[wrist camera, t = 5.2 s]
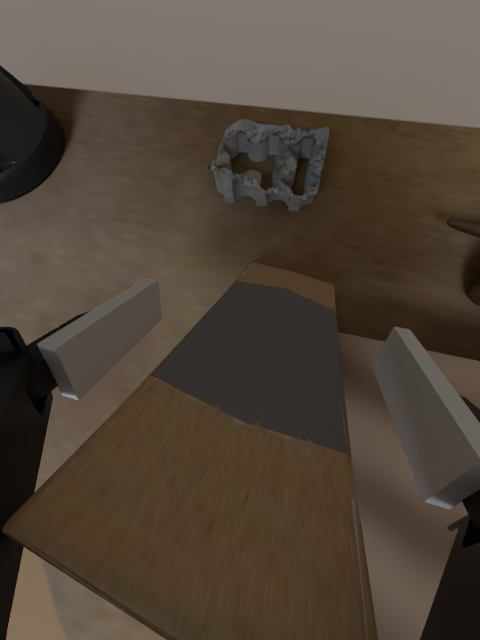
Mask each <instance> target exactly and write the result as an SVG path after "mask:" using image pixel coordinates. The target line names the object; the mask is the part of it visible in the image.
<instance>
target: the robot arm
mask: <svg viewBox="0 0 480 640" xmlns="http://www.w3.org/2000/svg"><path fill="white" fill-rule="evenodd" d="M63 142H64V134H63V130H62V127H61V124H60V123H59V121H58V120H57V118H56V117H55V116H54V115H53V113H52V112H51V111H50V110H49V109H48V107H47V106H46V105H45V104H44V102H43V101H42V100H41V99H40V98H39V97H38V96H37V95H35V94H34V93H33V92H32V91H30V90H29V89H28V88H27V87H26V86H25V85H23V84H22V83H21V82H20V81H18V80H17V79H16V78H14V76H12V75H11V74H10V73H9V72H7V71H6V70H5V69H4V68H3V67H2V66H0V203H2V202H6V201H9V200H12V199H15V198H17V197H19V196H21V195H23V194H25V193H27V192H28V191H30V190H31V189H33V188H34V187H35V186H37V185H38V184H39V183H40V182H41V181H42V180H43V179H44V178H45V177H46V176H47V175H48V174H49V173H50V172H51V170H52V169H53V168H54V166H55V165H56V163H57V161H58V159H59V157H60V155H61V152H62V148H63ZM161 319H162V314H161V304H160V295H159V285H158V280H157V279H152V278H147V277H146V278H144V279H143V280H141V281H139V282H138V283H136V284H134V285H133V286H131V287H129V288H128V289H126V290H125V291H123V292H121V293H120V294H118V295H116V296H115V297H113V298H111V299H110V300H108V301H106V302H105V303H103V304H102V305H100V306H98V307H97V308H95V309H93V310H92V311H90V312H86V313H84V314H81V315H78V316H76V317H74V318H72V319H71V320H69V321H67V323H64V324H62V325H61V326H59V328H56V329H54V330H52V331H50V332H49V333H47V334H45V335H44V336H42V337H40V338H39V339H37V340H35V341H34V342H32V343H30V344H29V345H27V346H26V344H25V342H24V341H23V339H22V337H21V335H20V333H19V331H18V330H17V329H15V328H12V327H0V640H6V635H7V628H8V622H9V617H10V613H11V608H12V603H13V597H14V592H15V587H16V582H17V577H18V572H19V567H20V562H21V557H22V552H23V547H24V546H22V545H20V544H19V543H17V542H16V541H14V540H13V539H11V538H10V537H8V536H7V535H5V534H4V533H2V530H3V527H4V525H5V523H6V522H7V521H8V520H9V518H10V517H11V516H12V515H13V514H14V513H15V512H16V511H17V510H18V509H19V508H20V507H21V506H22V505H23V504H24V503H25V502H26V501H27V500H28V499H29V498H30V497H31V496H32V495H33V494H34V491H35V486H36V481H37V476H38V471H39V466H40V461H41V456H42V451H43V445H44V440H45V435H46V430H47V425H48V420H49V415H50V410H51V405H52V400H53V396H52V393H51V391H52V390H53V389H54V388H56V387H57V386H58V387H59V389H60V391H61V393H62V395H63V396H66V397H69V398H73V399H76V400H79V399H80V398H81V397H82V396H83V395H84V394H86V393H87V392H88V391H89V390H90V389H91V388H92V387H93V386H94V385H95V384H96V383H97V382H98V381H99V380H100V379H101V378H102V377H103V376H104V375H105V374H106V373H107V372H108V371H109V370H110V369H111V368H112V367H113V366H114V365H115V364H116V363H117V362H118V361H119V360H120V359H121V358H122V357H123V356H124V355H125V354H126V353H127V352H129V351H130V350H131V349H132V348H133V347H134V346H135V345H136V344H137V343H138V342H139V341H140V340H141V339H142V338H143V337H144V336H145V335H146V334H147V333H148V332H149V331H150V330H151V329H152V328H153V327H154V326H155V325H156V324H157V323H158V322H159V321H160V320H161ZM371 366H372V368H373V371H374V374H375V376H376V379H377V381H378V384H379V387H380V389H381V392H382V394H383V397H384V400H385V402H386V405H387V407H388V410H389V412H390V415H391V418H392V420H393V423H394V425H395V428H396V431H397V433H398V436H399V438H400V441H401V444H402V446H403V449H404V451H405V454H406V456H407V459H408V462H409V464H410V467H411V469H412V472H413V475H414V477H415V480H416V482H417V485H418V488H419V490H420V493H421V495H422V498H423V500H424V502H426V503H429V504H433V505H436V506H440V507H443V508H446V509H451V508H453V507H454V506H456V505H457V504H459V503H461V502H462V503H463V505H464V507H465V509H466V511H467V513H468V515H466V516H464V517H463V518H461V519H459V520H457V521H455V522H454V523H452V524H450V525H449V526H448V527H447V529H448V530H449V531H450V532H451V531H453V530H455V529H458V531H457V534H456V537H455V540H454V543H453V546H452V549H451V551H450V554H449V557H448V560H447V563H446V566H445V569H444V571H443V574H442V577H441V580H440V583H439V586H438V589H437V592H436V594H435V597H434V600H433V603H432V606H431V609H430V612H429V615H428V617H427V620H426V623H425V626H424V629H423V632H422V635H421V638H420V640H480V409H479V408H477V407H476V406H475V405H474V404H473V403H471V402H470V401H469V400H468V399H467V398H466V397H463V396H459V394H458V393H457V392H456V390H455V389H454V388H453V386H452V385H451V384H450V382H449V381H448V380H447V378H446V377H445V376H444V374H443V373H442V372H441V370H440V369H439V368H438V366H437V365H436V364H435V362H434V361H433V360H432V358H431V357H430V356H429V354H428V353H427V352H426V350H425V349H424V347H423V346H422V345H421V343H420V342H419V341H418V339H417V338H416V337H415V335H414V334H413V333H412V331H411V330H410V329H405V328H400V327H395V326H394V327H393V329H392V331H391V332H390V334H389V336H388V338H387V339H386V341H385V343H384V345H383V346H382V348H381V350H380V351H379V353H378V355H377V357H376V358H375V360H374V362H373V364H372V365H371Z"/></svg>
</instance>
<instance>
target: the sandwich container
mask: <svg viewBox="0 0 480 640" xmlns="http://www.w3.org/2000/svg"><path fill="white" fill-rule="evenodd" d="M2 533H4V534H5V535H7V536H8V537H10V538H11V539H13V540H14V541H16V542H17V543H19V544H20V545H22V546H24V547H25V548H27V549H28V550H30V551H31V552H33V553H34V554H36V555H37V556H39V557H41V558H42V559H44V560H45V561H47V562H48V563H50V564H51V565H53V566H54V567H56V568H57V569H59V570H61V571H62V572H64V573H65V574H67V575H68V576H70V577H71V578H73V579H74V580H76V581H77V582H79V583H81V584H82V585H84V586H85V587H87V588H88V589H90V590H91V591H93V592H94V593H96V594H97V595H99V596H101V597H102V598H104V599H105V600H107V601H108V602H110V603H111V604H113V605H114V606H116V607H117V608H119V609H121V610H122V611H124V612H125V613H127V614H128V615H130V616H131V617H133V618H134V619H136V620H137V621H139V622H141V623H142V624H144V625H145V626H147V627H148V628H150V629H151V630H153V631H154V632H156V633H157V634H159V635H160V636H162V637H164V638H165V639H167V640H378V634H377V627H376V620H375V614H374V607H373V600H372V593H371V586H370V580H369V573H368V566H367V559H366V552H365V546H364V539H363V532H362V525H361V518H360V512H359V505H358V498H357V491H356V484H355V478H354V471H353V464H352V457H351V449H350V440H349V431H348V422H347V413H346V404H345V394H344V384H343V374H342V364H341V355H340V345H339V336H338V326H337V316H336V304H335V289H334V285H332V284H330V283H327V282H324V281H321V280H317V279H314V278H311V277H308V276H305V275H302V274H299V273H296V272H293V271H288V270H284V269H280V268H276V267H272V266H268V265H264V264H260V263H256V262H252V263H251V264H250V265H249V266H248V267H247V268H246V270H245V271H244V272H243V273H242V274H241V275H240V277H239V278H238V279H237V280H236V281H235V282H234V284H233V285H232V286H231V287H230V288H229V289H228V290H227V291H226V293H225V294H224V295H223V296H222V297H221V298H220V299H219V300H218V302H217V303H216V304H215V305H214V306H213V307H212V308H211V309H210V310H209V311H208V312H207V313H206V314H205V315H204V316H203V317H202V318H201V320H200V321H199V322H198V323H197V324H196V325H195V326H194V327H193V328H192V330H191V331H190V332H189V333H188V334H187V335H186V336H185V337H184V338H183V340H182V341H181V342H180V343H179V344H178V345H177V346H176V347H175V348H174V349H173V350H172V351H171V353H170V354H169V355H168V356H167V357H166V358H165V359H164V360H163V361H162V362H161V363H160V364H159V365H158V366H157V368H156V369H155V370H154V371H153V372H152V373H151V374H150V375H149V376H148V377H147V378H146V379H145V380H144V381H143V382H142V383H141V385H140V386H139V387H138V388H137V389H136V390H135V391H134V392H133V393H132V394H131V395H130V396H129V397H128V398H127V399H126V400H125V401H124V402H123V403H122V404H121V406H120V407H119V408H118V409H117V410H116V411H115V412H114V413H113V414H112V415H111V416H110V417H109V418H108V419H107V420H106V421H105V422H104V423H103V424H102V425H101V426H100V427H99V428H98V429H97V430H96V431H95V432H94V433H93V434H92V435H91V436H90V437H89V438H88V439H87V440H86V441H85V442H84V443H83V444H82V445H81V446H80V447H79V448H78V449H77V451H76V452H75V453H74V454H73V455H72V456H71V457H70V458H69V459H68V460H67V461H66V462H65V463H64V464H63V465H62V466H61V467H60V468H59V469H58V470H57V471H56V472H55V473H54V474H53V475H52V476H51V477H50V478H49V479H48V480H47V481H46V482H45V483H44V484H43V485H42V486H41V487H40V488H39V489H38V490H37V491H36V492H35V493H34V494H33V495H32V496H31V497H30V498H29V499H28V500H27V501H26V502H25V503H24V504H23V505H22V506H21V507H20V508H19V509H18V510H17V511H16V512H15V513H14V514H13V515H12V516H11V517H10V518H9V520H8V521H7V522H6V523H5V525H4V527H3V530H2Z"/></svg>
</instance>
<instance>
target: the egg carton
mask: <svg viewBox="0 0 480 640" xmlns="http://www.w3.org/2000/svg"><path fill="white" fill-rule="evenodd" d="M328 139H329V127H324V128H320V129H310V130H307V131H303V130H301V129H300V127H298V128H297V129H296V130H293V129H292V128H291V126H290V125H289V124H286V125H282V126H278V125H273V124H266V125H263V124H259V123H256V122H254V121H251V120H248V119H241V120H238V121H236V122H235V123H233V124H232V125H231V126H229V127H228V128H227V129H226V131H225V133H224V135H223V137H222V142H221V145H220V146H219V148H218V156H217V160H216V162H215V160H213V161H212V164H211V166H209V167H208V173H209V172H210V171H211V170H212V171H213V172H214V177H215V183H216V187H217V192H219V193H221V194H223V195H224V197H225V201H226V202H230V203H235V202H236V200H237V199H239V198H240V197H243V196H249V197H252V198H253V199H254V200H255V201H256V206H267V205H268V204H269V203H270V202H271V201H273V200H281V201H284V202H285V203H286V204H287V206H288V210H290V211H299V210H300V208H301V207H302V206H304V205H306V204H311V203H312V202H313V198H314V195H317V192H318V189H319V184H320V179H321V172H322V169H323V164H324V159H325V154H326V149H327V145H328ZM239 152H246V153H247V154H248V158H249V159H250V160H251V161H253V162H262V161H264V160H265V159H266V158H267V157H268V156H269V155H276V156H275V157H274V159H273V173H272V185H273V186H272V187H270V188H268V189H267V191H265V190H263V189H262V188H261V187H260V183H261V182H262V175H261V173H260V172H258V171H256V170H248V171H246V172H245V173H241V174H236V173H234V172H232V169H231V160H230V159H232V158H235V157H236V156H237V155H238V153H239ZM300 158H307V159H309V162H308V169H307V174H306V177H305V182H304V189H305V191H304V193H303V195H302V196H300V195H297V196H296V195H294V194H293V191H292V190H291V188H292V186H293V185H294V181H295V175H296V169H297V162H298V160H299V159H300Z"/></svg>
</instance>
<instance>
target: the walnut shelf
mask: <svg viewBox="0 0 480 640" xmlns="http://www.w3.org/2000/svg"><path fill="white" fill-rule="evenodd" d="M338 336H339V345H340V355H341V364H342V374H343V384H344V394H345V404H346V413H347V422H348V431H349V440H350V449H351V457H352V464H353V471H354V478H355V484H356V491H357V498H358V505H359V512H360V518H361V525H362V532H363V539H364V546H365V552H366V559H367V566H368V573H369V580H370V586H371V593H372V600H373V607H374V614H375V620H376V627H377V634H378V640H420V638H421V635H422V632H423V629H424V626H425V623H426V620H427V617H428V615H429V612H430V609H431V606H432V603H433V600H434V597H435V594H436V592H437V589H438V586H439V583H440V580H441V577H442V574H443V571H444V569H445V566H446V563H447V560H448V557H449V554H450V551H451V549H452V546H453V543H454V540H455V537H456V534H457V531H458V529H455V530H453V531H451V532H450V531H449V530H448V529H447V527H448V526H449V525H450V524H452V523H454V522H455V521H457V520H459V519H461V518H463V517H464V516H466V515H468V513H467V511H466V509H465V507H464V505H463V503H462V502H461V503H459V504H457V505H456V506H454V507H453V508H451V509H446V508H443V507H440V506H436V505H433V504H429V503H426V502H424V500H423V498H422V495H421V493H420V490H419V488H418V485H417V482H416V480H415V477H414V475H413V472H412V469H411V467H410V464H409V462H408V459H407V456H406V454H405V451H404V449H403V446H402V444H401V441H400V438H399V436H398V433H397V431H396V428H395V425H394V423H393V420H392V418H391V415H390V412H389V410H388V407H387V405H386V402H385V400H384V397H383V394H382V392H381V389H380V387H379V384H378V381H377V379H376V376H375V374H374V371H373V368H372V366H371V365H372V364H373V362H374V360H375V358H376V357H377V355H378V353H379V351H380V350H381V348H382V346H383V345H384V343H385V342H384V341H379V340H375V339H370V338H365V337H360V336H355V335H350V334H346V333H341V332H338ZM426 352H427V353H428V354H429V356H430V357H431V358H432V360H433V361H434V362H435V364H436V365H437V366H438V368H439V369H440V370H441V372H442V373H443V374H444V376H445V377H446V378H447V380H448V381H449V382H450V384H451V385H452V386H453V388H454V389H455V390H456V392H457V393H458V394H459V396H463V397H466V398H467V399H468V400H469V401H470V402H471V403H473V404H474V405H475V406H476V407H477V408H479V409H480V361H476V360H472V359H467V358H462V357H457V356H452V355H447V354H442V353H438V352H433V351H428V350H426Z"/></svg>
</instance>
